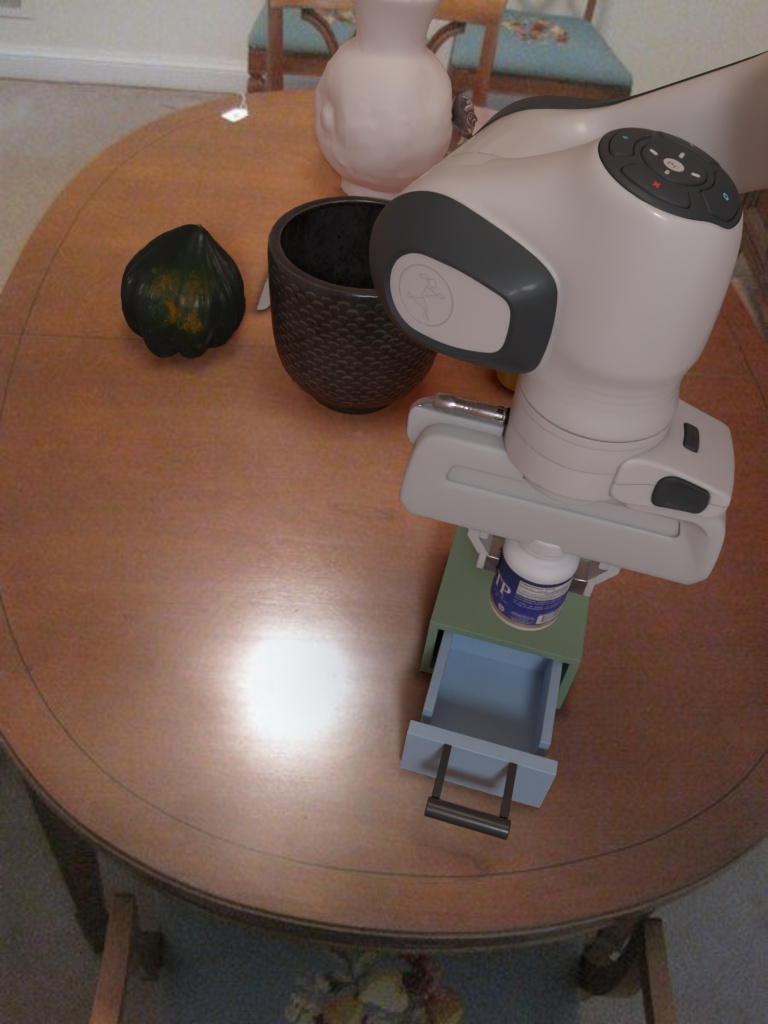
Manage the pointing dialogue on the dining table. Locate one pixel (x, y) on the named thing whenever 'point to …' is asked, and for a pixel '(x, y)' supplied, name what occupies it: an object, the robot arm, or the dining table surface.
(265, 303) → the butter knife
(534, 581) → the pill bottle
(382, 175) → the vase
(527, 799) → the cabinet drawer
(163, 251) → the squash
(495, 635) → the green drawer cabinet
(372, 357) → the planter
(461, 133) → the figurine
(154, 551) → the dining table surface
